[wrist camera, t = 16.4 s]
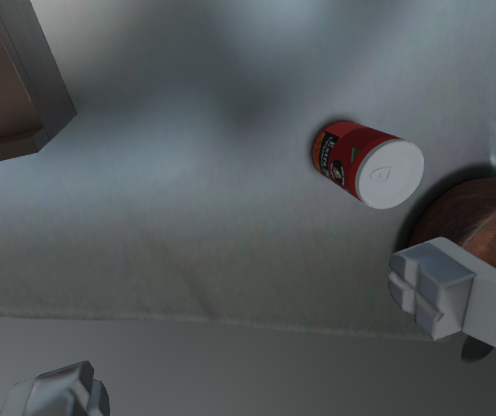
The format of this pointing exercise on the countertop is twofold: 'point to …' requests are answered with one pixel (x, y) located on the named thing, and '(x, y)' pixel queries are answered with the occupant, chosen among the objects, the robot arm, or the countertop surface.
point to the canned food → (369, 163)
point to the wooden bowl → (463, 219)
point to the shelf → (28, 84)
